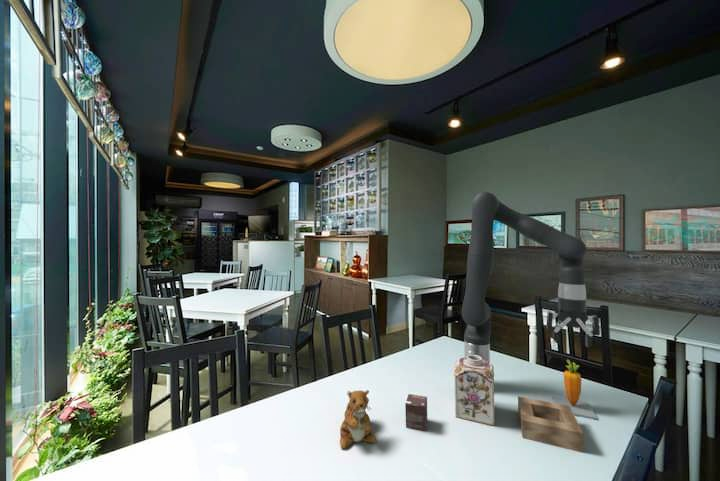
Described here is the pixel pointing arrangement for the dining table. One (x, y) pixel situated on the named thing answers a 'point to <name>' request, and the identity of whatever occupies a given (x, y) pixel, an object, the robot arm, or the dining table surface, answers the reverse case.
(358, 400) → the stuffed squirrel
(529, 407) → the socket block
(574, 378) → the carrot
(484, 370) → the decorative jar
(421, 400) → the box
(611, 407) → the dining table surface
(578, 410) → the rubber mat
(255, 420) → the dining table surface
